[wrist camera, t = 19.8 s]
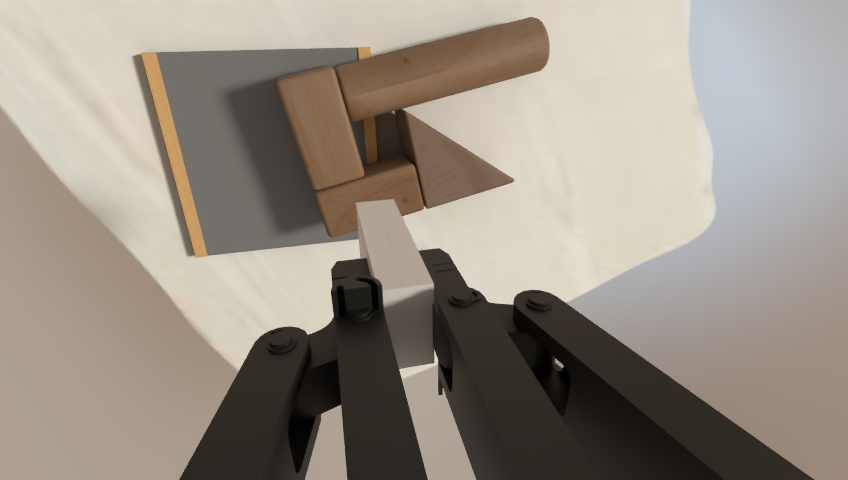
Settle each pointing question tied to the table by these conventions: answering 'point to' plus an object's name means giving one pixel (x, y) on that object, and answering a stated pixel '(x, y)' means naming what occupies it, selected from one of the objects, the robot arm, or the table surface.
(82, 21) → the table surface
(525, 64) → the wooden block assembly
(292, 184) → the mat
